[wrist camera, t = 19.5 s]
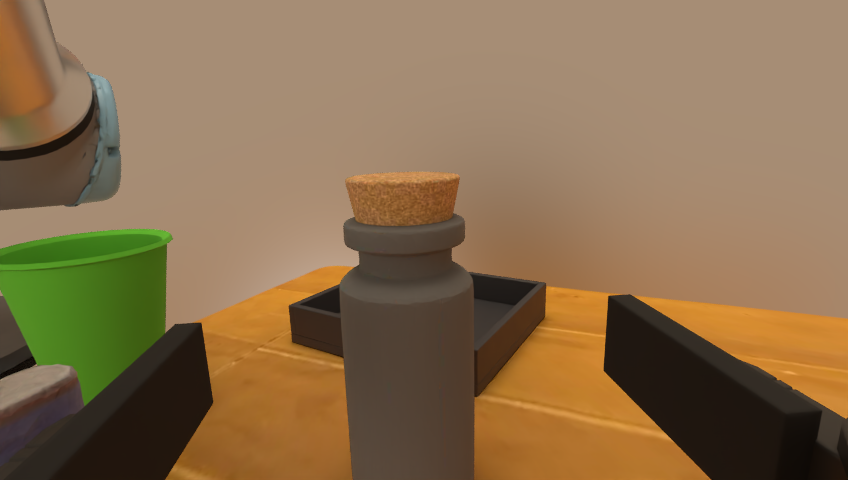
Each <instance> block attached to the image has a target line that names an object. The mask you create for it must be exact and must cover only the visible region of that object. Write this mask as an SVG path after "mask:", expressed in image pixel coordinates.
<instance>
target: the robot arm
mask: <svg viewBox="0 0 848 480" xmlns="http://www.w3.org/2000/svg"><path fill="white" fill-rule="evenodd" d="M119 141H120V134H119V125H118V116H117V109H116V103H115V99H114V94H113V90H112V87H111V85H110V83H109V81H108V80H106V79H105V78H103V77H101V76H97V75H93V74H91V73H89V72H86V70H85V68H84V67H83V65H82V64H81V62H80V61H79V60H78V59H77V58H76V57H75V56H74V55H73V54H72V53H71V52H70V51H69V50H68V49H66V48H65V47H63V46H62V45H61V44H59V43H58V42H56V41H55V38H54V34H53V31H52V27H51V24H50V20H49V17H48V13H47V10H46V6H45V3H44V0H0V210H9V209H21V208H34V207H46V206H58V205H65V206H69V207H71V206H78V205H79V204H81V203H89V202H97V201H104V200H107V199H109V198H111V197H113V196H114V195H115V194H116V192H117V191H118V188H119V185H120V179H121V155H120V151H119V147H120V142H119ZM604 372H605V373H606V374H607V375H608V376H609V377H610V378H611V379H612V380H613V381H614V382H615V383H616V384H617V385H618V386H619V387H620V388H621V389H622V390H623V391H624V392H625V393H626V394H627V395H628V396H629V397H630V398H631V399H632V400H633V401H634V402H635V403H636V404H637V405H638V406H639V407H640V408H641V409H642V410H643V411H644V412H645V413H646V414H647V415H648V416H649V417H650V418H651V419H652V420H653V421H654V422H655V423H656V424H657V425H658V426H659V427H660V428H661V429H662V430H663V431H664V432H665V433H666V434H667V435H668V436H669V437H670V438H671V439H672V440H673V441H674V442H675V443H676V444H677V445H678V446H679V447H680V448H681V449H682V450H683V451H684V452H685V453H686V454H687V455H688V456H689V457H690V458H691V459H692V460H693V461H694V462H695V463H696V464H697V465H698V466H699V467H700V469H701V470H702V471H703V472H704V473H705V474H706V475H707V476H708V477H709V478H710V479H711V480H848V418H847V419H845V418H843V417H842V416H840V415H838V414H836V413H835V412H833V411H831V410H830V409H828V408H826V407H825V406H823V405H821V404H820V403H818V402H816V401H814V400H813V399H811V398H809V397H808V396H806V395H804V394H803V393H801V392H799V391H798V390H793V389H792V387H791V386H789V385H787V384H786V383H784V382H782V381H781V380H777V378H776V377H774V376H772V375H771V374H769V373H767V372H765V371H764V370H762V369H760V368H759V367H756V366H754V365H751V364H749V363H746V362H743V361H741V360H738V359H736V358H735V357H733V356H731V355H730V354H728V353H727V352H725V351H723V350H722V349H720V348H718V347H717V346H715V345H713V344H712V343H710V342H708V341H707V340H705V339H703V338H702V337H700V336H698V335H697V334H695V333H693V332H692V331H690V330H688V329H687V328H685V327H683V326H682V325H680V324H678V323H677V322H675V321H673V320H672V319H670V318H668V317H667V316H665V315H664V314H662V313H660V312H659V311H657V310H655V309H654V308H652V307H650V306H649V305H647V304H645V303H644V302H642V301H640V300H639V299H637V298H635V297H634V296H632V295H630V294H629V295H614V296H608V311H607V326H606V342H605V357H604ZM212 404H213V398H212V391H211V384H210V377H209V371H208V364H207V357H206V351H205V344H204V337H203V331H202V324H201V323H187V324H175V325H174V326H173V327H172V328H171V329H169V330H168V331H167V332H166V333H165V334H164V335H163V336H162V337H161V338H160V339H158V340H157V341H156V342H155V343H154V344H153V345H152V346H151V347H150V348H148V349H147V350H146V351H145V352H144V353H143V354H142V355H141V356H140V357H139V358H137V359H136V360H135V361H134V362H133V363H132V364H131V365H130V366H129V367H127V368H126V369H125V370H124V371H123V372H122V373H121V374H120V375H119V376H118V377H116V378H115V379H114V380H113V381H112V382H111V383H110V384H109V385H108V386H106V387H105V388H104V389H103V390H102V391H101V392H100V393H99V394H98V395H96V396H95V397H94V398H93V399H92V400H91V401H90V402H89V403H88V404H87V405H85V406H84V407H83V408H82V409H81V410H80V411H79V412H78V413H77V414H69V415H68V416H66V417H64V418H62V419H61V420H59V421H57V422H55V423H54V424H52V425H50V426H48V427H47V428H45V429H44V430H42V431H41V432H40V433H39V434H38V435H37V436H35V437H34V438H33V439H32V440H31V441H30V442H28V443H27V444H26V445H25V448H23V449H20V450H19V451H18V452H17V453H16V454H15V455H13V456H12V457H11V458H10V459H9V462H8V463H4V464H3V465H2V466H1V467H0V480H165V479H166V477H167V476H168V474H169V472H170V471H171V469H172V468H173V466H174V464H175V463H176V461H177V460H178V458H179V456H180V455H181V453H182V452H183V450H184V449H185V447H186V445H187V444H188V442H189V441H190V439H191V437H192V436H193V434H194V433H195V431H196V429H197V428H198V426H199V425H200V423H201V421H202V420H203V418H204V417H205V415H206V413H207V412H208V410H209V409H210V407H211V406H212Z"/></svg>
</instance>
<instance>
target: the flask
mask: <svg viewBox="0 0 848 480" xmlns="http://www.w3.org/2000/svg"><path fill="white" fill-rule="evenodd" d="M83 407H84V402H83V398H82V392H81V387H80V382H79V379H78V377H77V371H76V370H75V369H74V368H73V366H67V365H61V364H56V365H39V366H36V367H32V368H28V369H25V370H22V371H20V372H17V373H14V374H12V375H9V376H7V377H5V378H3V379H1V380H0V467H1V466H2V465H3V464H4V463H8V462H9V459H10V458H11V457H12V456H13V455H15V454H16V453H17V452H18V451H19V450H20V449H23V448H25V445H26V444H27V443H28V442H30V441H31V440H32V439H33V438H34V437H35V436H37V435H38V434H39V433H40V432H41V431H42V430H44V429H45V428H47V427H48V426H50V425H52V424H54V423H55V422H57V421H59V420H61V419H62V418H64V417H66V416H68V415H69V414H77V413H78V412H79V411H80V410H81V409H82V408H83Z"/></svg>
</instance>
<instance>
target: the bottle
mask: <svg viewBox="0 0 848 480" xmlns="http://www.w3.org/2000/svg"><path fill="white" fill-rule="evenodd" d="M459 179H460V177H459V175H457V174H452V173H443V172H397V173H396V172H395V173H377V174H366V175H359V176H352V177H349V178H347V179H346V180H345V182H346V187H347V190H348V194H349V198H350V201H351V205H352V209H353V212H354V215H355V217H353V218H350V219H348V220H347V221H346V222H345V223H344V226H343V227H344V241H345V244H346V246H347V247H349V248H351V249H353V250H356V251H359V265H358V266H356V267H355V268H353V269H352V270H350V271H349V272H348V273H347V274H346V275H345V276H344V277H343V279H342V280H341V282H340V287H339V292H340V311H341V329H342V342H343V356H344V369H345V383H346V396H347V410H348V423H349V437H350V451H351V464H352V476H353V480H474V289H473V279H472V277H471V275H470V274H469V273H468V272H467V271H466V270H465V269H464V268H463V267H461V266H460V265H458V264H457V263H455V262H453V261H452V256H451V253H452V248H453V247H455V246H457V245H459V244H461V243H462V242H463V241H464V238H465V221H464V219H463V218H462V217H461V216H459V215H457V214H454V213H453V211H454V205H455V200H456V195H457V190H458V184H459Z"/></svg>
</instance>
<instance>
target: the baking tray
mask: <svg viewBox="0 0 848 480" xmlns="http://www.w3.org/2000/svg"><path fill="white" fill-rule="evenodd" d="M468 273H469V274H470V275H471V277H472V279H473V289H474V396H478V395H479V394H480V393H481V392H482V390H483V389H484V388H485V387H486V386H487V384H488V383H489V382H490V381H491V380H492V378H493V377H494V376H495V375H496V374H497V373H498V371H499V370H500V369H501V368H502V367H503V365H504V364H505V363H506V362H507V361H508V359H509V358H510V357H511V356H512V355H513V354H514V352H515V351H516V350H517V349H518V348H519V346H520V345H521V344H522V343H523V342H524V340H525V339H526V338H527V337H528V336H529V334H530V333H531V332H532V331H533V330H534V329H535V327H536V326H537V325H538V324H539V323H540V321H541V320H542V319H543V318H544V317H545V302H546V283H544V282H537V281H530V280H522V279H515V278H508V277H501V276H494V275H487V274H480V273H473V272H468ZM339 287H340V284H339V285H336V286H334V287H331V288H329V289H327V290H324V291H322V292H320V293H317V294H315V295H313V296H310V297H308V298H305V299H303V300H301V301H298V302H296V303H294V304H291V305H289V313H290V323H291V332H292V342H295V343H298V344H302V345H305V346H308V347H312V348H315V349H319V350H322V351H325V352H329V353H332V354H335V355H339V356H342V357H344V356H343V342H342V329H341V311H340V292H339Z"/></svg>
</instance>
